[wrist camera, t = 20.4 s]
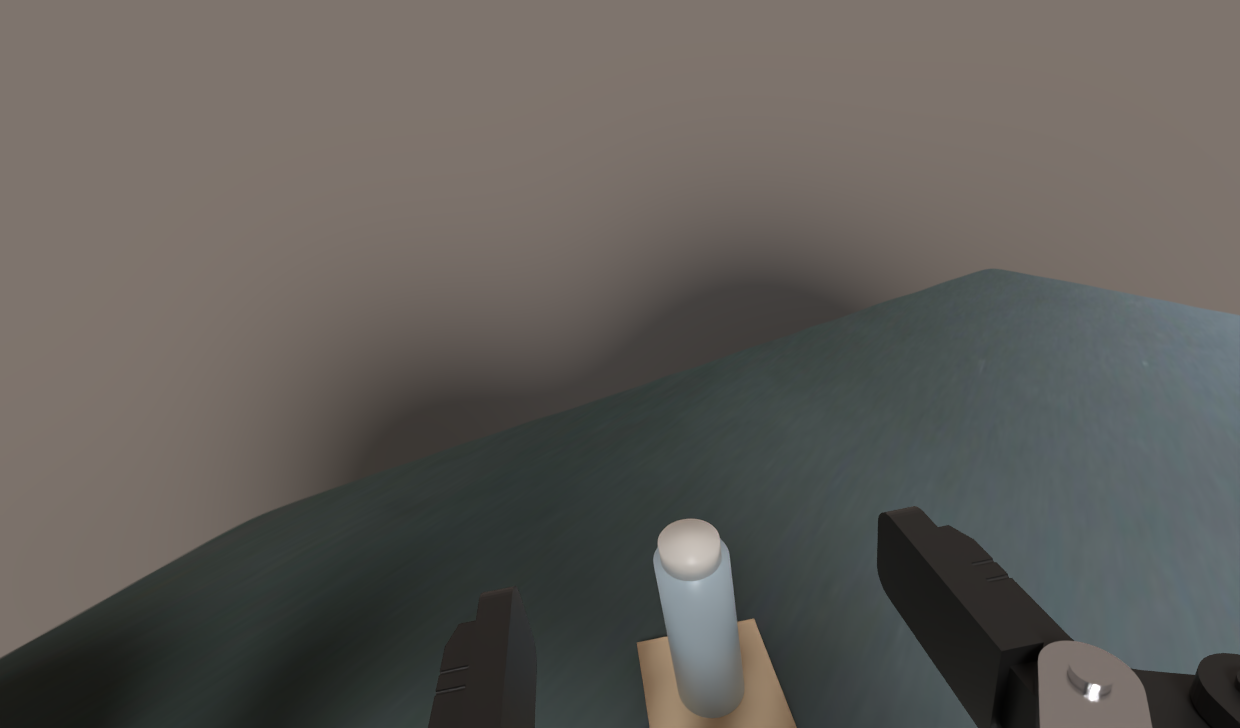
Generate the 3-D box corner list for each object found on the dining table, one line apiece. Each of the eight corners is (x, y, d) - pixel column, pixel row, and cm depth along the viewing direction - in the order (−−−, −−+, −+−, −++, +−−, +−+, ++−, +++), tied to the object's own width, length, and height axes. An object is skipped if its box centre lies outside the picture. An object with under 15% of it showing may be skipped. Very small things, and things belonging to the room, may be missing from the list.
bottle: (684, 724, 41) (656, 576, 35) (672, 662, 46) (645, 521, 39) (753, 710, 41) (736, 560, 35) (734, 650, 46) (717, 507, 39)
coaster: (657, 775, 39) (655, 766, 39) (638, 651, 48) (636, 642, 48) (800, 745, 40) (799, 735, 39) (754, 626, 49) (753, 618, 48)
